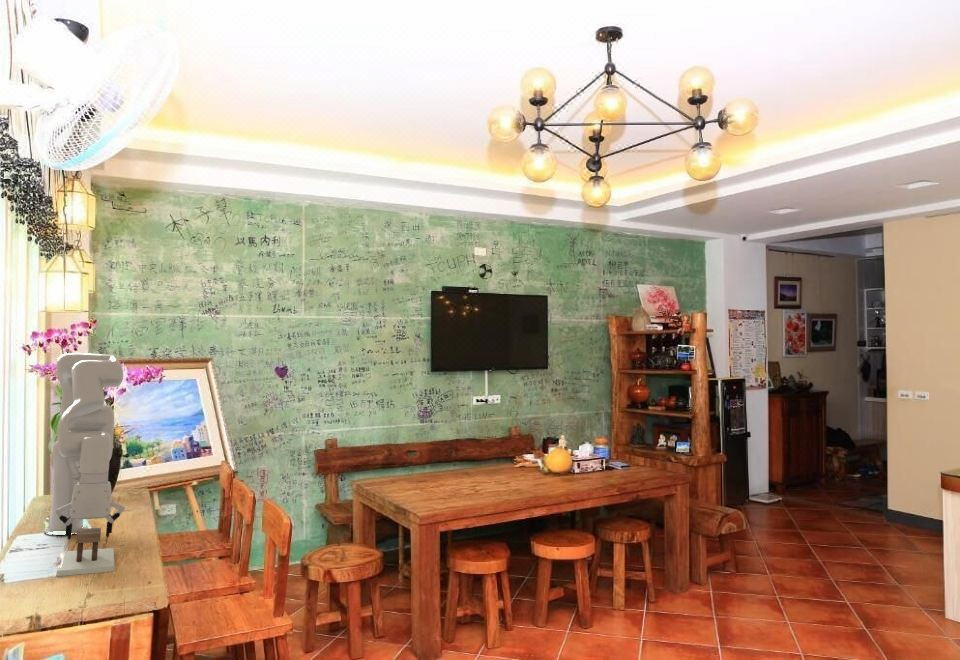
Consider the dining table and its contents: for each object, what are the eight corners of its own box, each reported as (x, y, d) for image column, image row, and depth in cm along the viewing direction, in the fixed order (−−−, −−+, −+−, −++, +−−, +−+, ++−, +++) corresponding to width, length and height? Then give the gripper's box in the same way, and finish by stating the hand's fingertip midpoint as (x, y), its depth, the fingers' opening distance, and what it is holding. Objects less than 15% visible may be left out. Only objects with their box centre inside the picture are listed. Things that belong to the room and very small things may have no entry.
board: (60, 556, 203) (60, 551, 203) (113, 552, 210) (113, 547, 210) (56, 576, 188) (56, 570, 188) (114, 571, 194) (114, 566, 194)
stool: (75, 556, 200) (77, 529, 200) (98, 554, 203) (100, 527, 203) (74, 562, 195) (76, 534, 195) (98, 560, 198) (100, 533, 198)
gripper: (57, 481, 192) (52, 542, 192) (127, 479, 200) (122, 538, 200) (59, 476, 199) (54, 535, 198) (126, 474, 207) (121, 531, 207)
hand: (88, 536), depth 199 cm, fingers open, 9 cm apart
